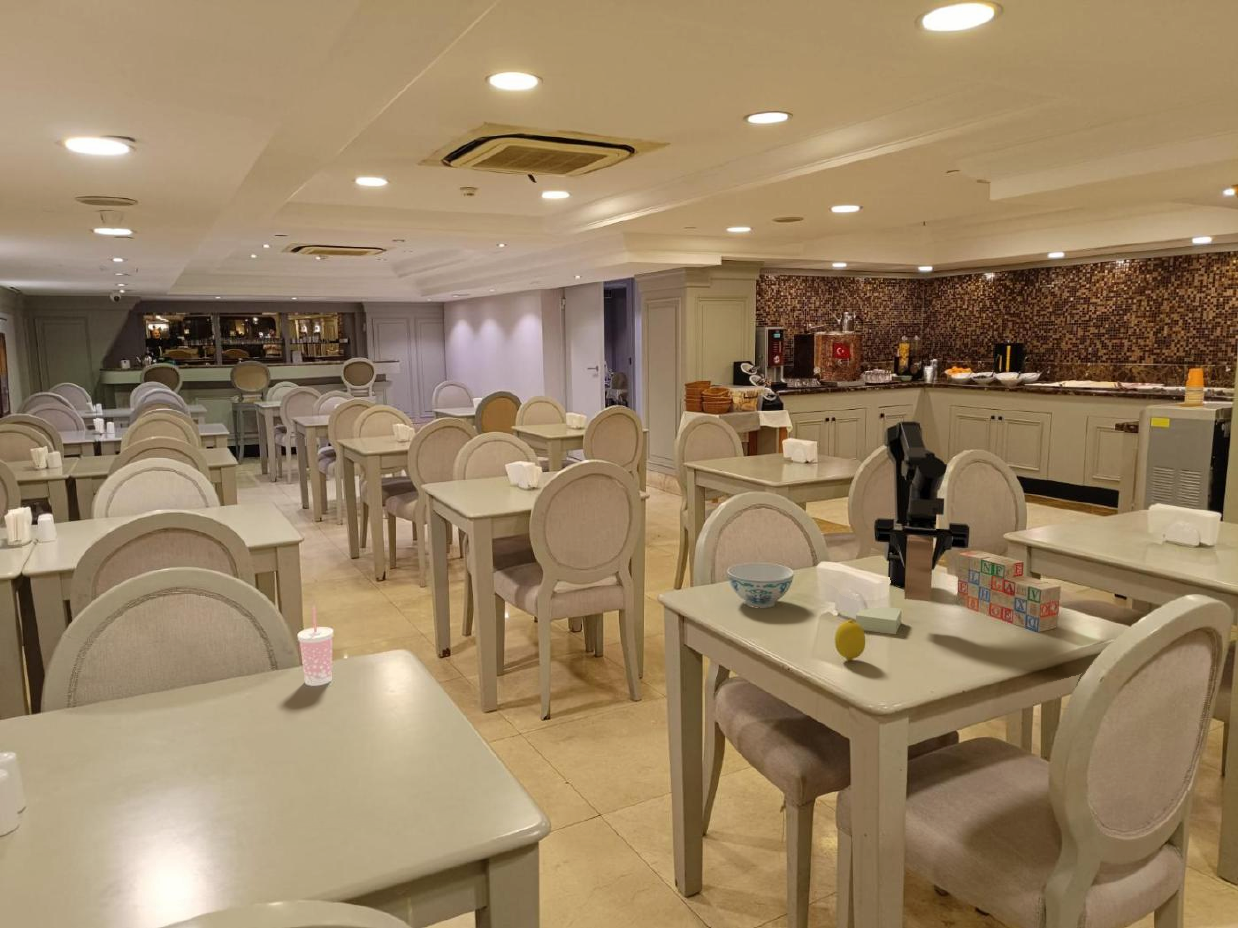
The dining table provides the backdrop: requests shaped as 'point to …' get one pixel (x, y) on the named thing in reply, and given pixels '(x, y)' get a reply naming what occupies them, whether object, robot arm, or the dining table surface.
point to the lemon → (850, 640)
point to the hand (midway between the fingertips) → (918, 567)
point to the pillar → (918, 567)
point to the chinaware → (760, 582)
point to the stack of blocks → (1006, 591)
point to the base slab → (880, 619)
